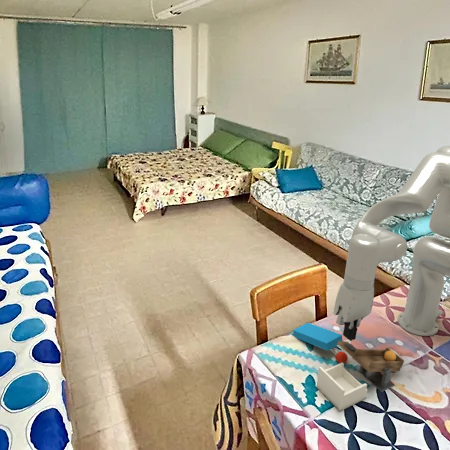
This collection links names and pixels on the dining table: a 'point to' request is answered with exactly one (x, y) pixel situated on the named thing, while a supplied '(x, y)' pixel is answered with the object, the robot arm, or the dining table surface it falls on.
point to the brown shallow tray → (371, 358)
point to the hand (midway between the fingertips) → (349, 337)
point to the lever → (321, 339)
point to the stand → (377, 378)
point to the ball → (390, 356)
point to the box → (340, 387)
